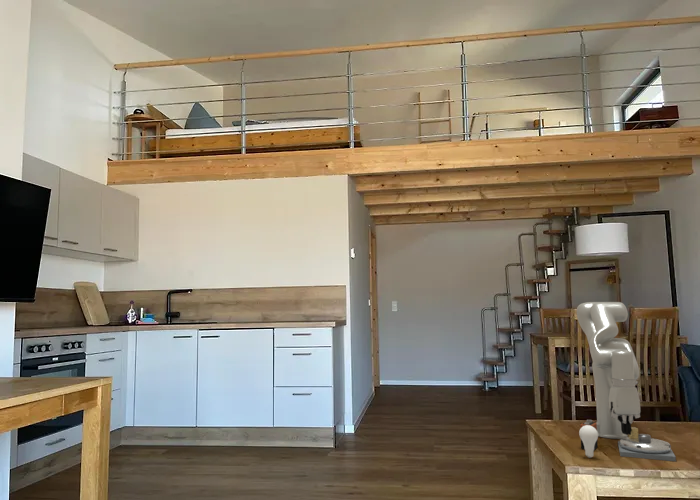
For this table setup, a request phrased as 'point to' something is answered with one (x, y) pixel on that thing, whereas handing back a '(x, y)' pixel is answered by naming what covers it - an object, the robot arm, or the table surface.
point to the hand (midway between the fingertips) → (626, 433)
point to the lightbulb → (588, 439)
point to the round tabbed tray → (644, 443)
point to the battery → (592, 426)
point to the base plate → (646, 454)
